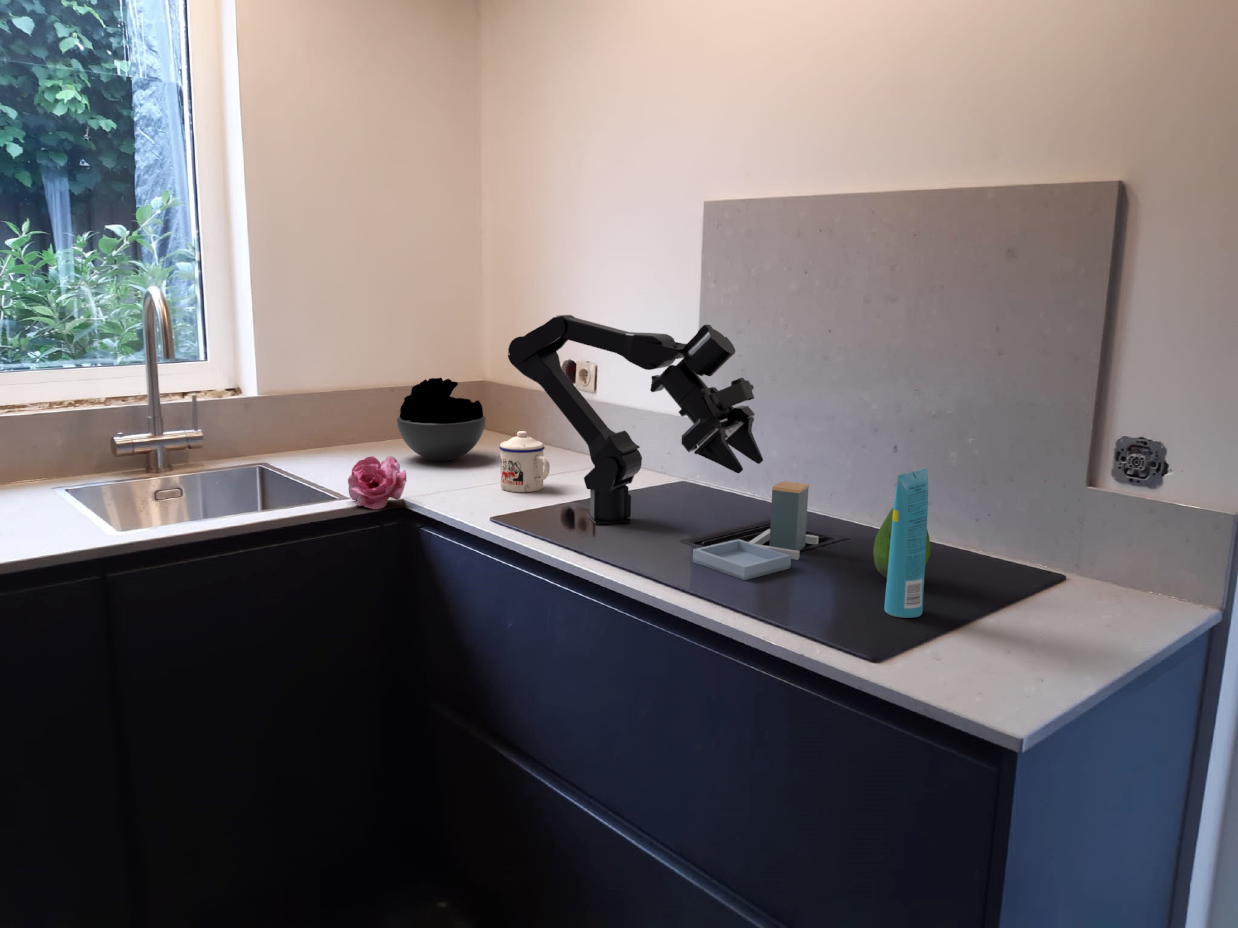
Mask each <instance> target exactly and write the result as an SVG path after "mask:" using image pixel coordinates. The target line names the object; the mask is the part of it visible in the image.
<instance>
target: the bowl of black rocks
mask: <svg viewBox="0 0 1238 928" xmlns="http://www.w3.org/2000/svg"><path fill="white" fill-rule="evenodd" d="M458 384H459V383H458V382H457V381H452V379H450V378H446V379H444V380H443V378H442V377H439V378H438V377H433V378H429V379H426V378H425V379H424V380H423V381H420V382H419V383H417V384H415V385H414V386H411V391H410V394H409V395H407V396H405V397H404V398H403V402H402V404H401V406H400V409H399V411H400V413H399V416H397V417H396V423H397V428H398V431H399V434H400V436H401V438H402V440H403V441H404V443H405V444H406V445H407V447H408V448H409V449H411V451H413V452H414V453H415V454H417V455H418V456H420V457H422V458H424V459H428V460H430V461H438V462H447V461H451V460H456V459H458V458H460V457H462V456H465V455H466V454H467V453H469V452H470V451H471V450H472V449H473V448H474V447H475V446H477V444H478V442H479V441H480V439H481V437H482V435H483V433H484V430H485V425H486V416H484V412H483V411H484V409H483V405H482V403H481V402H480V400H475V401H472V400H471V399H469V398H463V397H453V396H451V395H452V392H453V391H454V389H455V388H456V387H458Z"/></svg>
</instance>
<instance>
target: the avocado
mask: <svg viewBox="0 0 1238 928" xmlns="http://www.w3.org/2000/svg"><path fill="white" fill-rule="evenodd" d="M893 509H894V506H893V507H892V508H891V509H890V510H889V512H888V513H887V515H886V517H885V519H884V521H883V522H882V524H881V525H880V527H879V529H878V532H877V534H876V536H875V538H874V544H873V548H872V555H873V561H874V562H873V563H874V566H875V567H876V570H877V572H878V573H879V574H881V575H882V576H883V577H884V578H886V579H887V574H888V563H889V552H890V541H891V530H892V519H893ZM928 531H929V530H928V529H927V535H926V555H925V567H926V566H927V565H928V564H927V563H928V561H929V558H930V555H931V541H930V540H931V539H930V535H929V532H928Z"/></svg>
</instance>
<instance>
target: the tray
mask: <svg viewBox="0 0 1238 928" xmlns="http://www.w3.org/2000/svg"><path fill="white" fill-rule="evenodd" d="M791 562H792V559H791V555H787V554H784V553H781V552H778V551H775V550H772V549H769V548H765V547H762V546H759V545H756V544H753V543H750V541H745V540H743V539H740V538H739V539H738V538H737V539H734V540H729V541H725V542H719V543H717V544H716V543H715V544H711V545H707V546H702V547H699V548H694V549H692V563H694V564H697V565H701V566H703V567H706V568H709V569H712V570H715V571H718V572H721V573H723V574H725V575H728V576H731V577H733V578H737V579H739V580H742V581H747V580H750V579H754V578H758V577H762V576H766V575H770V574H773V573H778V572H781V571H784V570H785V571H786V570H789V569H791V564H792V563H791Z"/></svg>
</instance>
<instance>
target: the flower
mask: <svg viewBox="0 0 1238 928" xmlns="http://www.w3.org/2000/svg"><path fill="white" fill-rule="evenodd" d="M400 470H401V464H400V462H399V461H398V460H397V459H396V457H394V456H392V455H391V456H390V455H389V456H387V457H385V459H383V460H382V461H381V462H380V460H378V458H377V457H376V456H373V455H371V456H366V457H365V458H364V459H359V460H358V461H357V462H356V463H355V464H354V465H353V467H352V468H351V474H350V475H349V477H348V479H347V484H348V487H347V488H348V494H349V498H350V499H351V500H352V501H354V500H357V501H355V504H356V505H357V506H359V507H361V506H364V508H368V509H371V510H380V509H383V508H386V506H387V504H388V501H389V498H391V499H393V500H396V501H397V500H398V501H399V500H400V499H401V497H402V494H403V493H404V490H405V487H406V483H407V482H408V481H407V471H406V469H403V470H402V471H400Z"/></svg>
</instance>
